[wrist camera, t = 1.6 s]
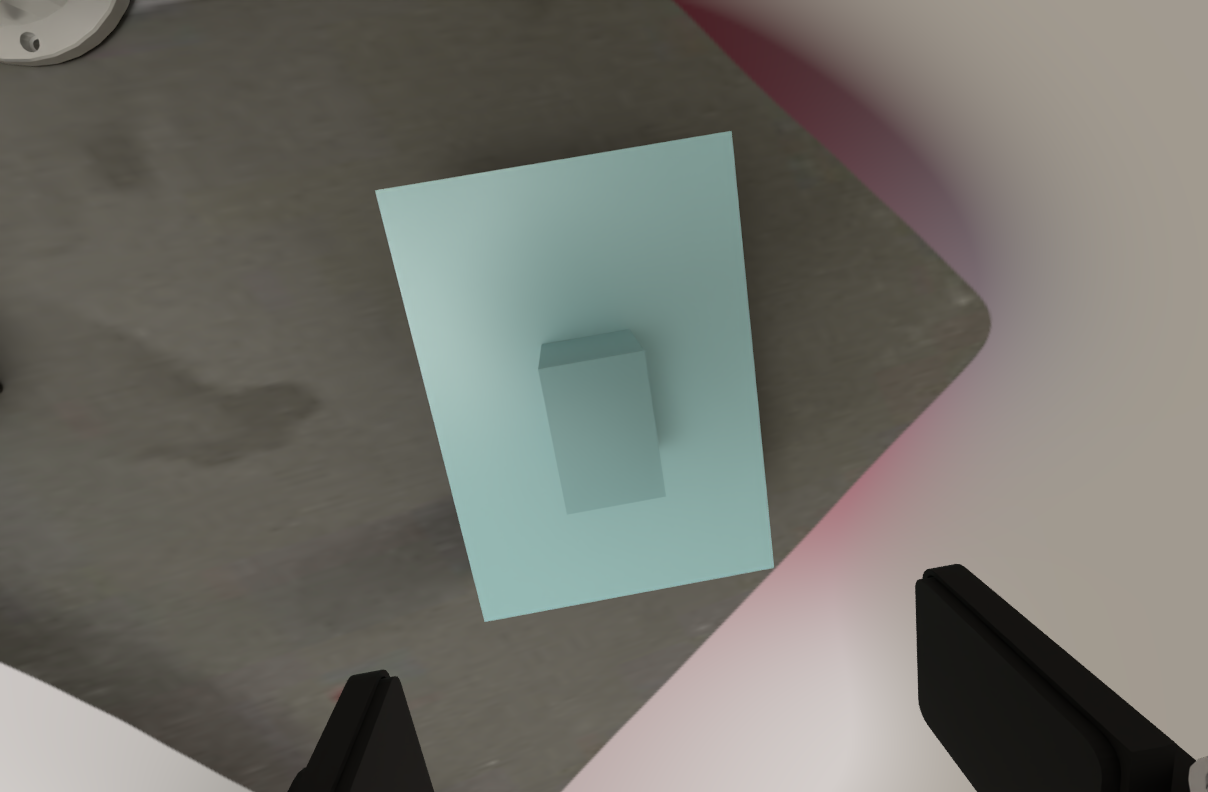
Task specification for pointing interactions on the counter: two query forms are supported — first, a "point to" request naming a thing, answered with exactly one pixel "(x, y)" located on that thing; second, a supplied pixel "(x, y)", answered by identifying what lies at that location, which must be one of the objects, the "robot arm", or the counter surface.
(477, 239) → the lid
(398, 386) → the counter surface
